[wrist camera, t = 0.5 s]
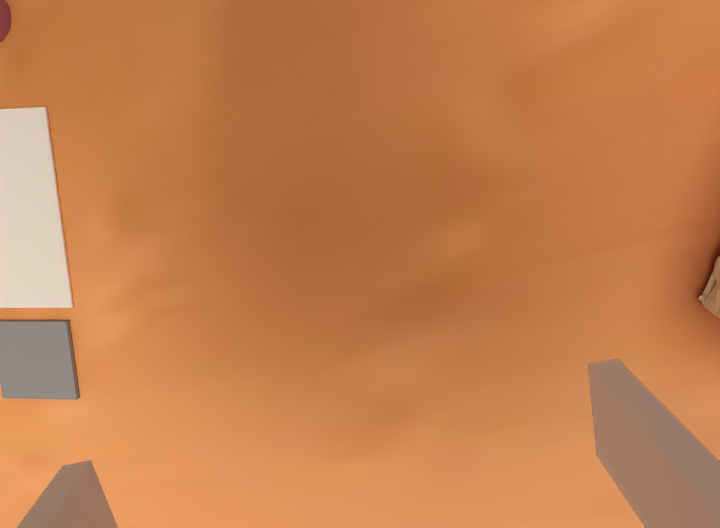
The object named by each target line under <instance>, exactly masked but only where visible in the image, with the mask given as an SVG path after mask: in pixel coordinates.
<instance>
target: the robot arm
mask: <svg viewBox="0 0 720 528" xmlns="http://www.w3.org/2000/svg"><path fill="white" fill-rule="evenodd" d="M588 373H589V383H590V394H591V404H592V414H593V424H594V434H595V445H596V455H597V457H598V458H599V460H600V461H601V463H602V464H603V466H604V467H605V469H606V470H607V472H608V473H609V475H610V476H611V477H612V479H613V480H614V482H615V483H616V485H617V486H618V488H619V489H620V491H621V492H622V494H623V495H624V497H625V498H626V500H627V501H628V503H629V504H630V506H631V507H632V509H633V510H634V512H635V513H636V514H637V516H638V517H639V519H640V520H641V522H642V523H643V525H644V526H645V528H720V461H719V460H718V459H717V458H716V457H715V456H714V455H713V454H712V453H711V452H710V451H709V450H708V449H707V448H706V447H705V446H704V445H703V444H702V443H701V442H700V441H699V440H698V439H697V438H696V437H695V436H694V435H693V434H692V433H691V432H690V431H689V430H688V429H687V428H686V427H685V426H684V425H683V424H682V423H681V422H680V421H679V420H678V419H677V418H676V417H675V416H674V415H673V414H672V413H671V412H670V411H669V410H668V409H667V408H666V407H665V406H664V405H663V404H662V403H661V402H660V401H659V400H658V399H657V398H656V397H655V396H654V395H653V394H652V393H651V392H650V391H649V390H648V389H647V388H646V387H645V386H644V385H643V384H642V383H641V382H640V381H639V379H638V378H637V377H636V376H635V375H634V374H633V373H632V372H631V371H630V370H629V369H628V368H627V367H626V366H625V365H624V364H623V363H622V362H621V361H620V360H619V359H613V360H608V361H602V362H597V363H592V364H588ZM17 528H118V526H117V524H116V521H115V519H114V517H113V514H112V512H111V509H110V507H109V504H108V502H107V499H106V497H105V494H104V492H103V489H102V487H101V484H100V482H99V479H98V477H97V474H96V472H95V470H94V467H93V465H92V462H91V460H90V461H85V462H80V463H75V464H70V465H64V466H62V468H61V469H60V470H59V472H58V473H57V474H56V476H55V477H54V478H53V480H52V481H51V482H50V484H49V485H48V486H47V488H46V489H45V490H44V492H43V493H42V494H41V496H40V497H39V498H38V500H37V501H36V502H35V504H34V505H33V506H32V508H31V509H30V510H29V512H28V513H27V515H26V516H25V517H24V519H23V520H22V521H21V523H20V524H19V525H18V527H17Z"/></svg>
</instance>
